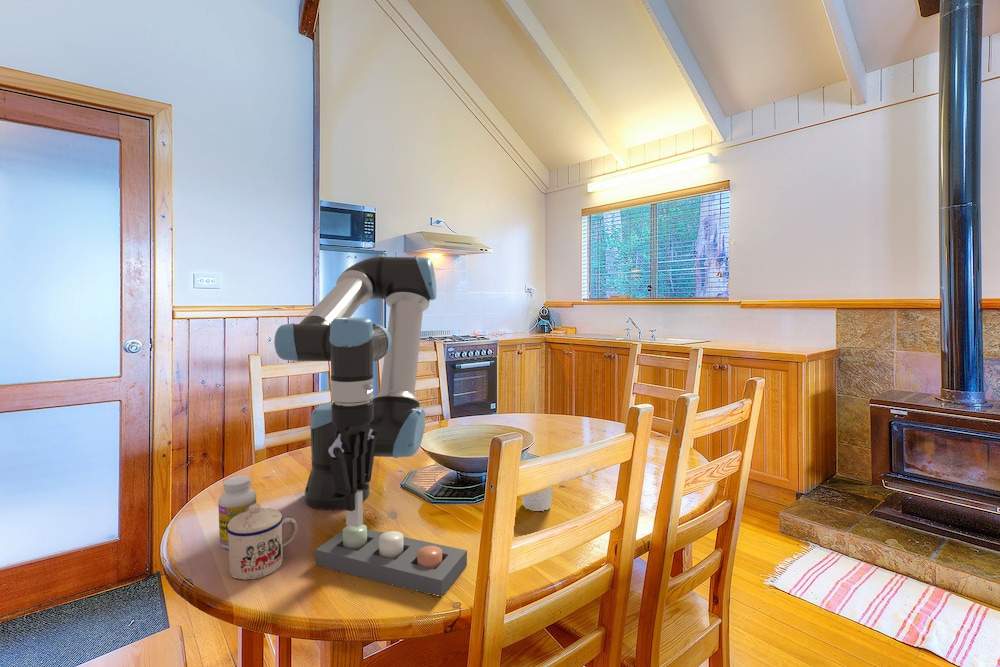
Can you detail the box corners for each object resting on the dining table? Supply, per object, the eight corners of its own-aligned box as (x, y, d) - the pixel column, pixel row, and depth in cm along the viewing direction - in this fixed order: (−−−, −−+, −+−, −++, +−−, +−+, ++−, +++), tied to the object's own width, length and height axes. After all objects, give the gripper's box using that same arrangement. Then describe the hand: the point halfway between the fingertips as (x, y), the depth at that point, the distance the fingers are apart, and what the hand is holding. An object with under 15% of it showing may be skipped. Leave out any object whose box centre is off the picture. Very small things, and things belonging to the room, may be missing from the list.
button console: (315, 565, 89) (315, 549, 89) (350, 539, 99) (350, 525, 98) (441, 597, 80) (441, 580, 80) (466, 565, 90) (467, 550, 89)
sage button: (338, 550, 91) (337, 532, 91) (352, 539, 95) (352, 522, 95) (357, 555, 89) (357, 536, 89) (371, 543, 93) (371, 526, 93)
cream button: (374, 559, 88) (373, 540, 88) (387, 547, 92) (387, 529, 92) (395, 564, 87) (394, 545, 86) (408, 551, 91) (407, 533, 90)
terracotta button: (412, 574, 85) (412, 556, 85) (425, 561, 90) (424, 543, 89) (434, 580, 84) (434, 561, 84) (446, 566, 88) (446, 548, 88)
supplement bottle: (211, 548, 95) (208, 484, 94) (237, 532, 101) (234, 472, 100) (241, 553, 93) (238, 488, 92) (265, 536, 100) (262, 475, 99)
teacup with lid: (239, 588, 82) (236, 522, 81) (221, 567, 89) (218, 505, 87) (307, 560, 91) (306, 500, 90) (287, 542, 97) (285, 486, 96)
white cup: (551, 515, 110) (552, 472, 110) (517, 511, 112) (518, 469, 111) (554, 500, 118) (555, 460, 117) (522, 497, 120) (523, 458, 119)
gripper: (346, 411, 82) (349, 544, 84) (389, 396, 94) (390, 513, 96) (311, 407, 85) (314, 536, 87) (357, 392, 97) (359, 506, 99)
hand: (354, 524), depth 92 cm, fingers closed
